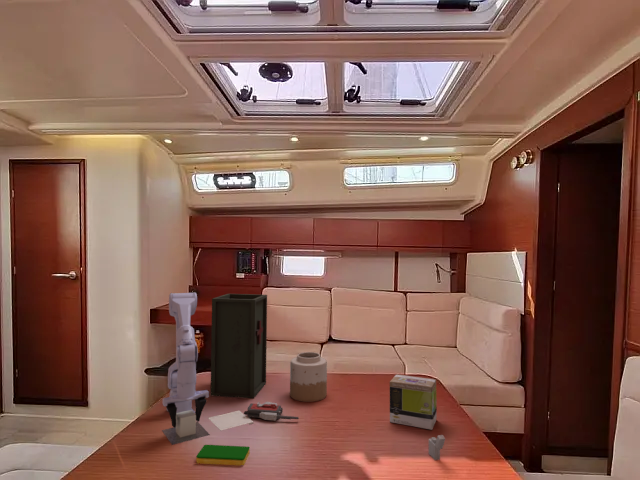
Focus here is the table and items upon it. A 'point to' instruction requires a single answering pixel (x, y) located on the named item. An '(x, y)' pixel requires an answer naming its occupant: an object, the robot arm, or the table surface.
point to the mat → (230, 420)
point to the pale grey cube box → (185, 423)
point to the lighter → (436, 446)
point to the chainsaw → (266, 411)
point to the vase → (308, 377)
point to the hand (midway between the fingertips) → (185, 423)
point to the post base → (175, 438)
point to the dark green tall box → (238, 345)
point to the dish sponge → (223, 455)
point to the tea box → (413, 401)
